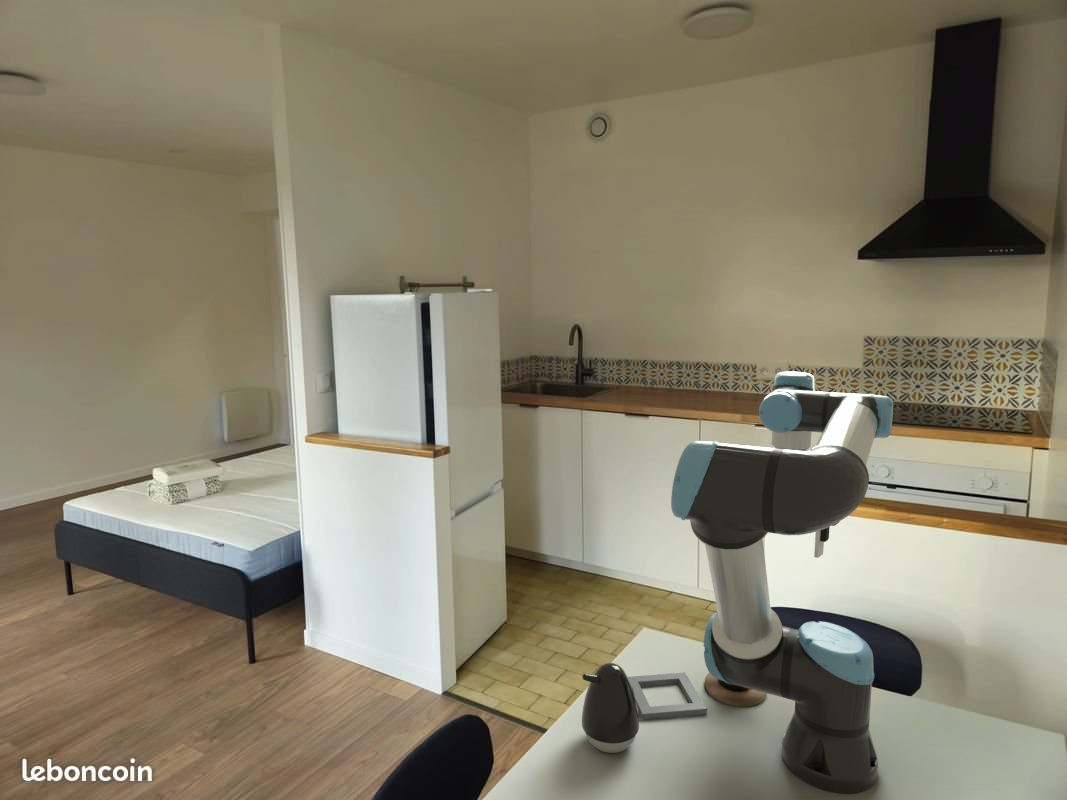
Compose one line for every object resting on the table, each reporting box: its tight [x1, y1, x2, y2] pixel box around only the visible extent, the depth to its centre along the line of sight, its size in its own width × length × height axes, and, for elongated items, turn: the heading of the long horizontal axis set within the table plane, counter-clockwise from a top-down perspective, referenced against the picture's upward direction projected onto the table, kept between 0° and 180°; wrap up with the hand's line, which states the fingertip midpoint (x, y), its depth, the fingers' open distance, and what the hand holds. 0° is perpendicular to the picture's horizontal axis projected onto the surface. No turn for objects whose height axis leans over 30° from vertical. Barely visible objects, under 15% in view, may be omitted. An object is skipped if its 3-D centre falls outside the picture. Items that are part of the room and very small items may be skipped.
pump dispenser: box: [581, 662, 640, 754], centre depth 123 cm, size 10×10×15 cm
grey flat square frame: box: [628, 672, 708, 721], centre depth 138 cm, size 13×13×1 cm
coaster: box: [704, 672, 767, 708], centre depth 141 cm, size 12×12×1 cm
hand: (785, 547), depth 145 cm, fingers open, 13 cm apart
